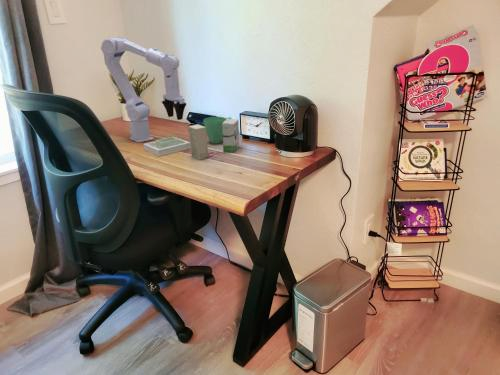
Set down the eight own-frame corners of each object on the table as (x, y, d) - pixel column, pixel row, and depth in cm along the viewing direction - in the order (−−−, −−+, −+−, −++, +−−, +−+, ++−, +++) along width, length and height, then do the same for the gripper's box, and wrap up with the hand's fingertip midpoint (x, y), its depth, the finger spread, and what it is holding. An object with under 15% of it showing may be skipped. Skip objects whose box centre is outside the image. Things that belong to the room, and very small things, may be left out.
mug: (214, 146, 164) (212, 123, 160) (200, 142, 171) (198, 119, 167) (240, 139, 174) (239, 117, 170) (226, 135, 180) (225, 113, 176)
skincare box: (208, 157, 152) (206, 126, 147) (198, 160, 149) (196, 129, 144) (200, 153, 156) (198, 123, 151) (190, 156, 154) (188, 125, 149)
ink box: (234, 152, 156) (233, 123, 152) (223, 152, 157) (221, 123, 153) (239, 146, 164) (238, 118, 160) (228, 145, 165) (227, 118, 161)
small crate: (156, 148, 162) (155, 140, 161) (173, 144, 167) (172, 136, 166) (162, 151, 159) (161, 142, 157) (179, 147, 163) (178, 139, 162)
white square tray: (144, 149, 163) (143, 143, 162) (175, 142, 172) (175, 136, 171) (158, 156, 154) (157, 150, 153) (191, 148, 163) (190, 142, 162)
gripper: (189, 86, 161) (192, 119, 166) (171, 83, 171) (174, 114, 177) (174, 88, 157) (177, 122, 162) (157, 85, 167) (160, 116, 172)
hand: (175, 118), depth 169 cm, fingers open, 7 cm apart
